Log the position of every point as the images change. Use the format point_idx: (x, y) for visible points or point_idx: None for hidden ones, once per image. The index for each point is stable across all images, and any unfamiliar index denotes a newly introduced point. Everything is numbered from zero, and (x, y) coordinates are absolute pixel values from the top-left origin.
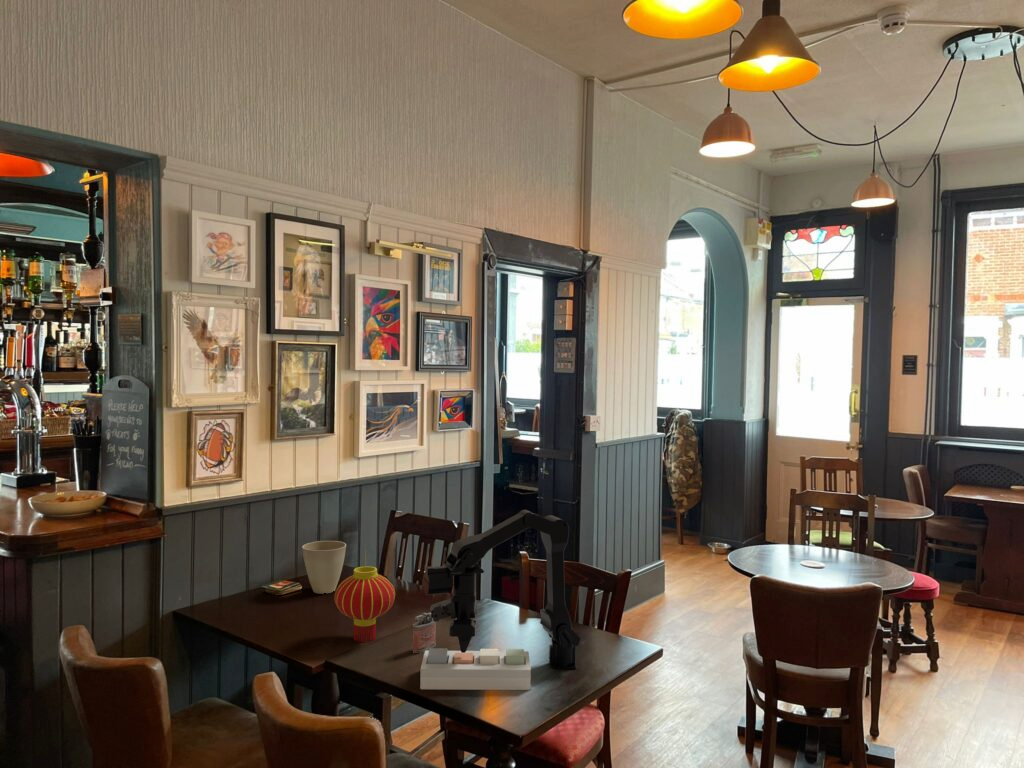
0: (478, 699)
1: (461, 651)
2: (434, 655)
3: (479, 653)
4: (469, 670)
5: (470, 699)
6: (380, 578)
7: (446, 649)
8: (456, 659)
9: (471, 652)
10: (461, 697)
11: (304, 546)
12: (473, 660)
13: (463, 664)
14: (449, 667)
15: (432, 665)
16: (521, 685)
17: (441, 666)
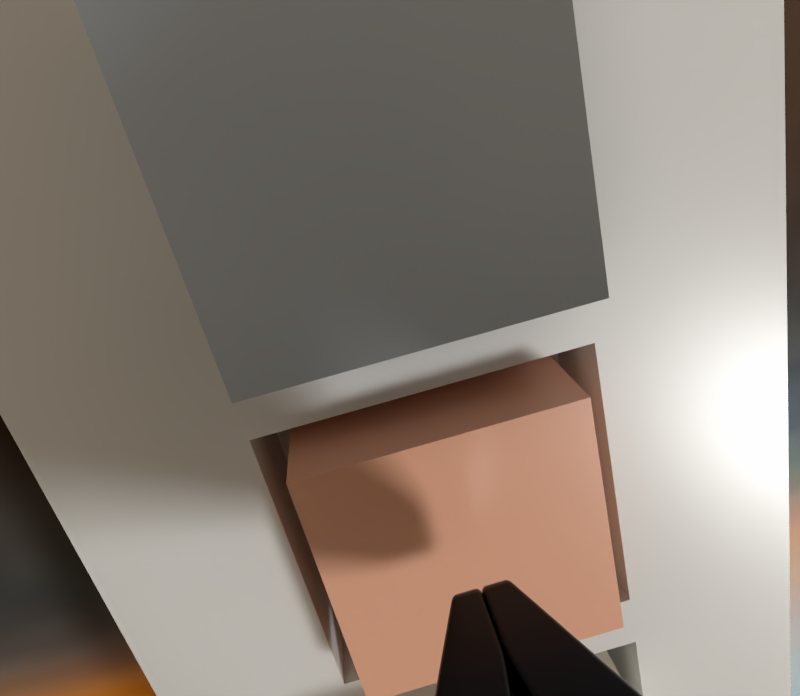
0: (41, 652)
1: (451, 613)
2: (134, 140)
3: (705, 626)
4: (159, 685)
5: (6, 598)
6: None
7: (547, 295)
8: (311, 515)
9: (732, 533)
10: (5, 518)
11: None
12: None
13: (293, 581)
14: (101, 447)
15: (44, 138)
16: None
17: (79, 315)
